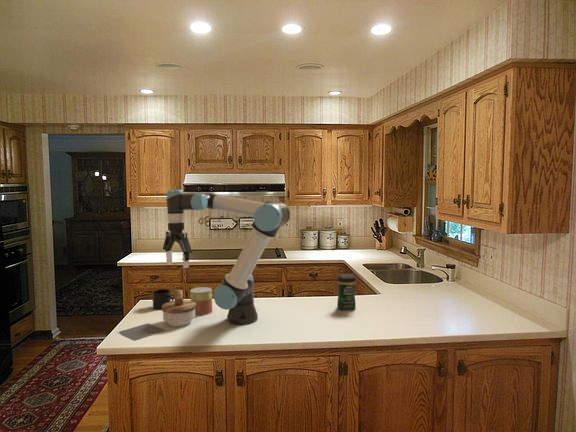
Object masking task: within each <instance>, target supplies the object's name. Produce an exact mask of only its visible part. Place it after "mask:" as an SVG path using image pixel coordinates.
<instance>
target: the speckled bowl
mask: <svg viewBox="0 0 576 432" xmlns="http://www.w3.org/2000/svg"><path fill="white" fill-rule="evenodd" d="M195 318H196V315H195V309H193V310H191V311H187V312H182V313H167V312H164V311H162V319H163V322H165V323H167V324H168V325H169V326H171V327H183V326H186V325H187V326H188V325H189V324H190V323H191V322H192V320H193V319H195Z"/></svg>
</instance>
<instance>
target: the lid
mask: <svg viewBox="0 0 576 432" xmlns="http://www.w3.org/2000/svg"><path fill="white" fill-rule="evenodd" d="M173 295H174V297H173V301H172V300H171V302H168V303H165V304H163V305H162V310H161V311H162V312H163V311H164V312H167V313H182V312H187V311H191V310H193V309H195V308H196V303H195V302H194V301H191V299H190V300H187V299H184V293H183V289H176V290H174V292H173Z"/></svg>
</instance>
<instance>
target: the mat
mask: <svg viewBox="0 0 576 432" xmlns="http://www.w3.org/2000/svg"><path fill="white" fill-rule="evenodd" d="M166 331H167V330H166V329H165V328H162V327H158V326H156V325H153V324H151V323H149V322H148V323H147V322H146V323H144V324H141V325H137V326H134V327H133V326H132V327H131V328H127V329H124V330H120V331H118V332H119V333H120V334H121V336H123V337H125V338H127V339H130V340H131V341H134V342H135V341H139V340H142V339H145V338H147V337H150V336H154V335H157V334H160V333H164V332H166ZM120 334H119V335H120Z"/></svg>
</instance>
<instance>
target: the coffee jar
mask: <svg viewBox="0 0 576 432" xmlns="http://www.w3.org/2000/svg"><path fill="white" fill-rule="evenodd" d="M356 283H357V281H356V276H355V274H353V273H343V274H342V273H341V274H338V276H337V284H338V293H337V294H338V295H337V304H336V307H337V308H338V310H342V311H349V310H350V311H351V310H352V311H353V310H355V309H356V308H357V307H356V294H355V285H356Z"/></svg>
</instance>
